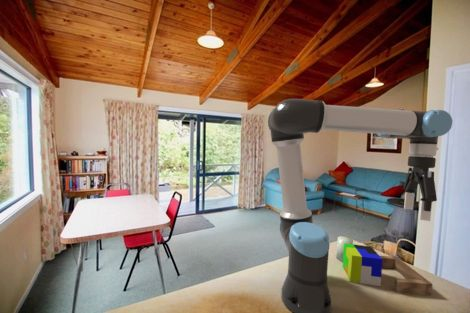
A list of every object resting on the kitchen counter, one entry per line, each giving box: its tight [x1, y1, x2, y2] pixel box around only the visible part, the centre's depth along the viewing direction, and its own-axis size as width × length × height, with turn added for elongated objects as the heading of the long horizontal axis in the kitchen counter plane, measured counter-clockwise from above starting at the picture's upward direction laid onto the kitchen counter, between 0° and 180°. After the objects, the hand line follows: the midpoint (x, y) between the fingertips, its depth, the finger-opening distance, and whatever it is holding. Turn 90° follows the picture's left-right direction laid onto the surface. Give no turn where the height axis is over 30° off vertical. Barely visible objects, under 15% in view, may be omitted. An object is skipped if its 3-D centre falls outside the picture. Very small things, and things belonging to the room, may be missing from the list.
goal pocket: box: [379, 255, 433, 296], centre depth 83 cm, size 11×18×4 cm, turn 177°
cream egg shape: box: [336, 235, 354, 263], centre depth 96 cm, size 6×6×9 cm
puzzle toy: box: [342, 243, 383, 287], centre depth 84 cm, size 10×10×10 cm
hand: (415, 214), depth 80 cm, fingers open, 13 cm apart
